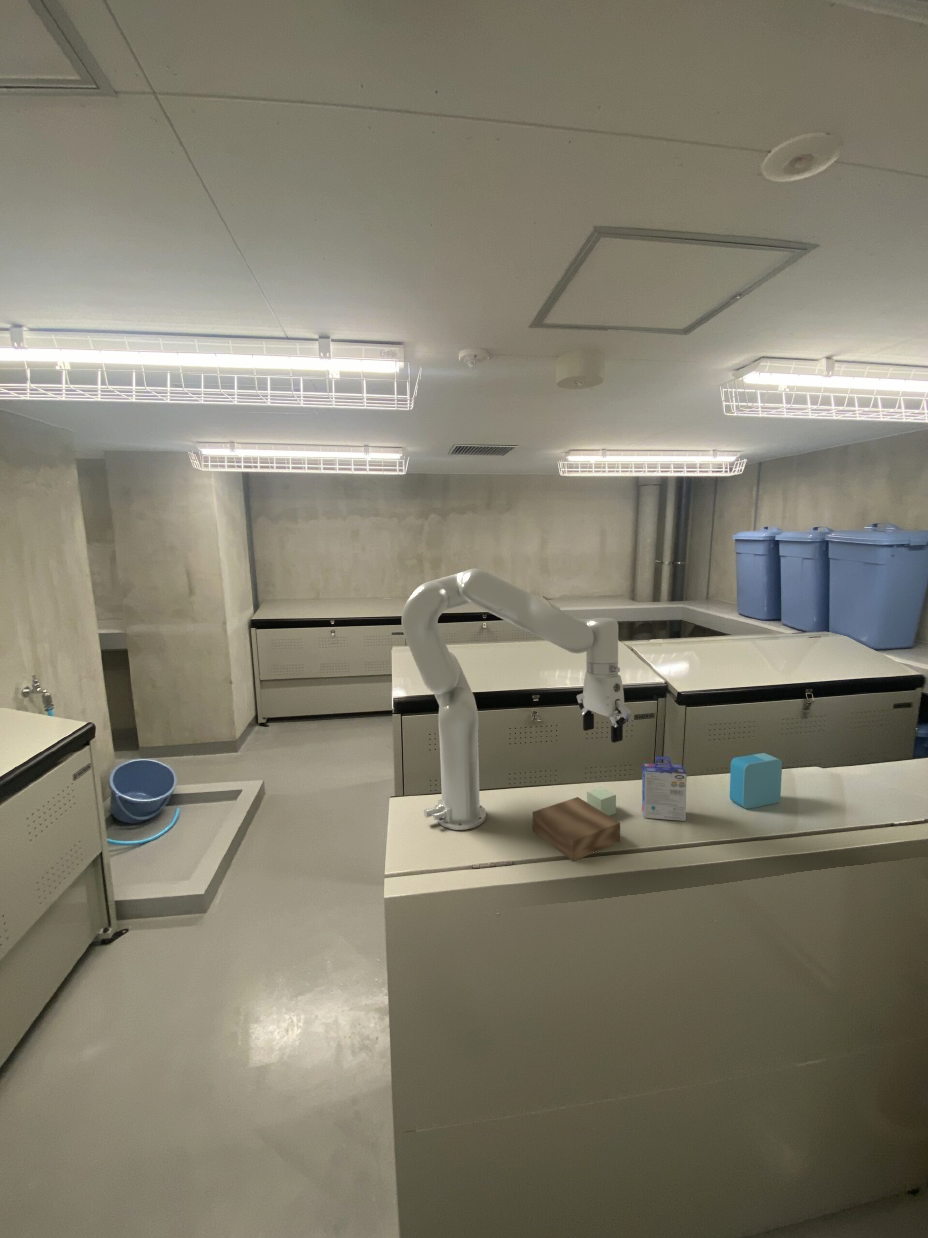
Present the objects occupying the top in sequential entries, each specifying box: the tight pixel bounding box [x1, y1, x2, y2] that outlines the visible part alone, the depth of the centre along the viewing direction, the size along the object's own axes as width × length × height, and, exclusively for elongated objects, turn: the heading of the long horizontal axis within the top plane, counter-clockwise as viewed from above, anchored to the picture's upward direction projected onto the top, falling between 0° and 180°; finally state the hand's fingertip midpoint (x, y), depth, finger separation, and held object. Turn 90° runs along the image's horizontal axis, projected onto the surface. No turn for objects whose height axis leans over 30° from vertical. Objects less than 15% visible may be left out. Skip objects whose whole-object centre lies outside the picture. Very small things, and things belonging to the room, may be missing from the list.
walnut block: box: [532, 796, 621, 862], centre depth 110 cm, size 14×14×5 cm
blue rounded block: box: [729, 752, 783, 810], centre depth 122 cm, size 12×4×12 cm, turn 105°
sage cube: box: [586, 786, 617, 817], centre depth 120 cm, size 5×5×5 cm
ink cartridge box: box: [641, 755, 688, 822], centre depth 118 cm, size 10×6×14 cm, turn 78°
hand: (602, 735), depth 118 cm, fingers open, 9 cm apart
